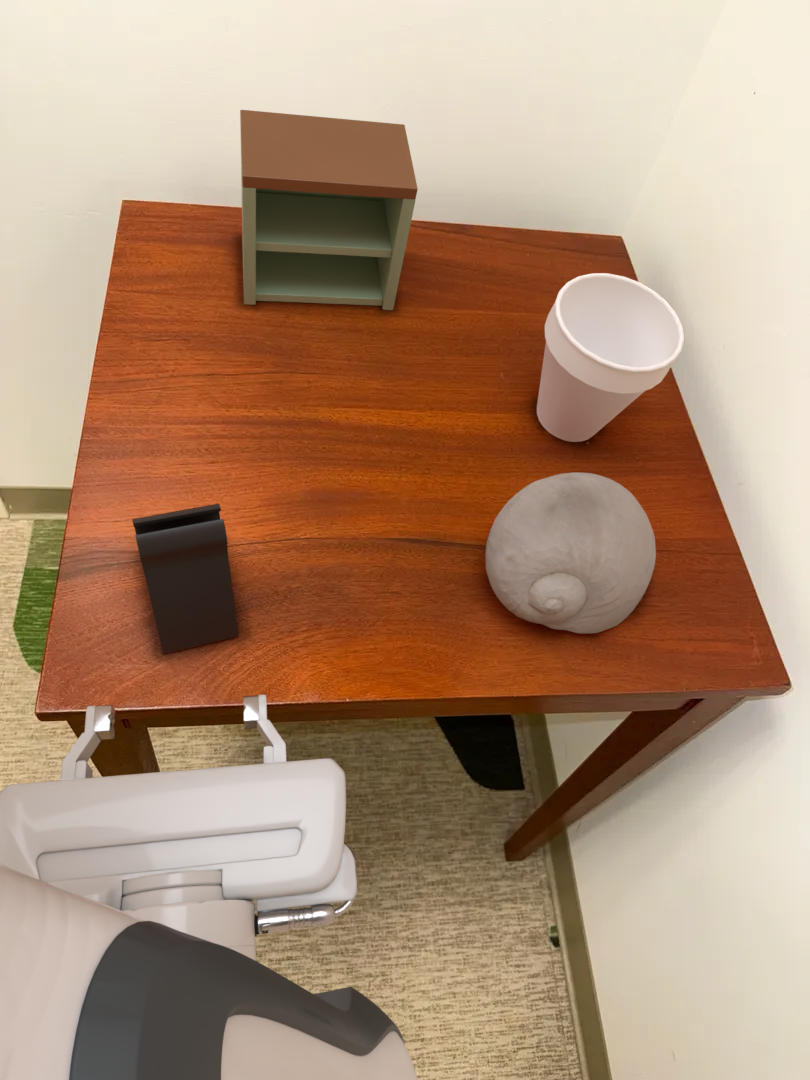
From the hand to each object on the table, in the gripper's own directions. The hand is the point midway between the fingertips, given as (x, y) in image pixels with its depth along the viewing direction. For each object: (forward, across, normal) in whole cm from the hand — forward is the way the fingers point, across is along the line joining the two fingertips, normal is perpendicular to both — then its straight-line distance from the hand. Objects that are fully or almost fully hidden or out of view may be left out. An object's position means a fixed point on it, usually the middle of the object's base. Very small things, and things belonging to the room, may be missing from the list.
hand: (179, 702), depth 49 cm
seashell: (+14, -33, +10) cm, 37 cm away
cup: (+32, -38, +10) cm, 50 cm away
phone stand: (+12, 0, +10) cm, 16 cm away
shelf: (+51, -13, +10) cm, 54 cm away
